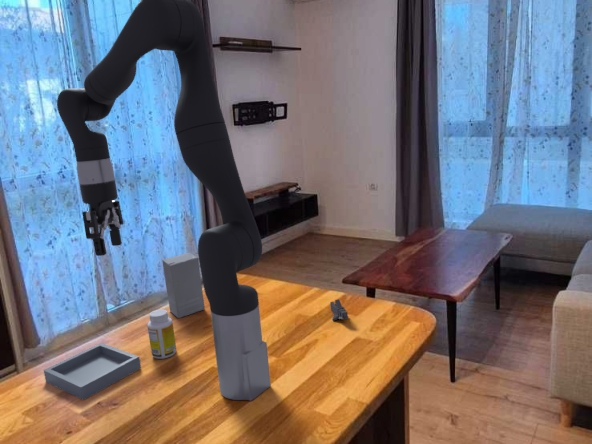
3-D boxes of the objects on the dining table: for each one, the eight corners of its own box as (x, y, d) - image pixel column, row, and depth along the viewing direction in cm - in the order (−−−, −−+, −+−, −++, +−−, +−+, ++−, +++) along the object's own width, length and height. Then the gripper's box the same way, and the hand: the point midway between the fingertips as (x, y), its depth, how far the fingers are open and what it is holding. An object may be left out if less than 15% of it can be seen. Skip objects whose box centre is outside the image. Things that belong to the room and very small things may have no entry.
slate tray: (141, 368, 112) (139, 356, 112) (83, 400, 101) (80, 387, 101) (103, 353, 120) (101, 342, 120) (45, 382, 109) (43, 370, 109)
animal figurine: (325, 315, 136) (322, 296, 135) (341, 313, 137) (339, 294, 136) (337, 326, 124) (335, 305, 124) (355, 323, 125) (353, 302, 125)
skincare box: (196, 303, 147) (189, 251, 143) (206, 311, 141) (199, 256, 138) (168, 312, 142) (160, 257, 139) (177, 320, 137) (169, 263, 133)
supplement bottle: (178, 347, 121) (172, 306, 119) (175, 358, 116) (169, 316, 113) (154, 349, 121) (148, 309, 118) (150, 361, 115) (143, 319, 113)
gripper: (99, 183, 107) (112, 257, 110) (125, 174, 121) (136, 241, 124) (64, 186, 108) (79, 260, 111) (95, 177, 121) (106, 243, 125)
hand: (109, 250), depth 118 cm, fingers open, 8 cm apart
